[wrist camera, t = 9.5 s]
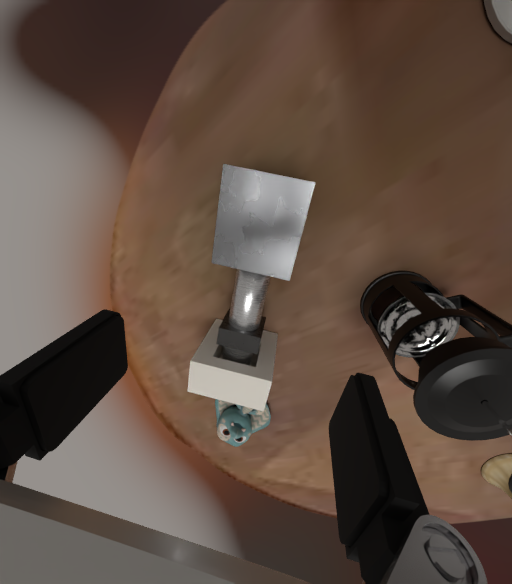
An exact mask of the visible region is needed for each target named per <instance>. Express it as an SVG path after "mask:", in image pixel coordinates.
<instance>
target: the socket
mask: <svg viewBox="0 0 512 584" xmlns="http://www.w3.org/2000/svg"><path fill="white" fill-rule="evenodd" d="M222 321H223V320H220V319H216V320H215V322H214V323H213V325H212V327H211V328H210V330H209V331H208V333H207V335H206V336H205V338H204V340H203V341H202V343H201V345H200V346H199V348H198V349H197V351H196V353H195V354H194V356H193V358H192V359H191V361H190V371H189V381H188V392H192V393H196V394H199V395H203V396H207V397H211V398H215V399H218V400H222V401H226V402H230V403H233V404H237V405H241V406H245V407H249V408H252V409H256V410H260V411H264V409H265V405H266V401H267V398H268V394H269V391H270V387H271V384H272V378H273V370H274V362H275V354H276V345H277V337H278V334H277V333H273V332H269V331H265V330H263V333H262V337H261V341H260V346H259V350H258V354H254V353H253V356H252V360H251V364H250V366H248V365H244V364H240V363H237V362H233V361H229V360H225V359H222V357H223V351H224V346H222V345H218V344H216V343H217V336H218V330H219V326H220V325H221V323H222Z"/></svg>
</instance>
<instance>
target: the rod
mask: <svg viewBox="0 0 512 584" xmlns="http://www.w3.org/2000/svg"><path fill="white" fill-rule="evenodd" d="M269 281H270V276H267V275H262V274H258V273H254V272H249V271H245V270H241V269H237V272H236V278H235V284H234V290H233V296H232V302H231V308H229V310H228V312H227V314H226V316H225V317H224V319H223V321H222V323H221V325H220V326H219V330H218V336H217V343H216V344H218V345H222V346H224V351H223V357H222V359H225V360H229V361H233V362H237V363H240V364H244V365H248V366H250V364H251V360H252V356H253V353H254V354H258V350H259V346H260V341H261V337H262V333H263V328H264V324H265V320H266V317H263V316H262V311H263V307H264V303H265V298H266V294H267V289H268V285H269Z"/></svg>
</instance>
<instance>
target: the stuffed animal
mask: <svg viewBox="0 0 512 584" xmlns="http://www.w3.org/2000/svg"><path fill="white" fill-rule="evenodd" d="M234 405H235V404H233V403H230V402H226V401H222V400H218V399H216V400H215V406H216V415H217V434H218V437H219V438H220V439H221V440H223V441H225V442H227V443H229V444H231V445H233V446H240V445H242V444H243V443H244V442H246V441H247V440H248V439H249V437H250V436H251V434H252V433H254V432H256V431H258V430H261V429H263V428H265V427H266V426H268V425H269V423H270V418H271V416H270V412H269V408H268V405H267V403H266V405H265V409H264V411H260V410H256V409H252V408H249V407H245V406H241V405H237V404H236V406H234ZM247 413H248V414H249V415H248V414H247Z"/></svg>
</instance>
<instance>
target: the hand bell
mask: <svg viewBox="0 0 512 584" xmlns="http://www.w3.org/2000/svg"><path fill="white" fill-rule="evenodd" d="M481 473H482V476H483V478H484V479H485V480H486V481H488V482H489V483H490V484H492V485H494V486H496V487H499V488H500V489H502V490H503V491H504V492H505V493H506V494H507V495H508V496H509V497H510V498H511V499H512V493H511V491H510V490H509V486H508V482H509V478H510V476H511V474H512V453H511V454H502V455H499V456H496V457H493V458H491V459H490V460H488V461H487V462H486V463H485V464H484V465H483V466H482V470H481Z"/></svg>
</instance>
